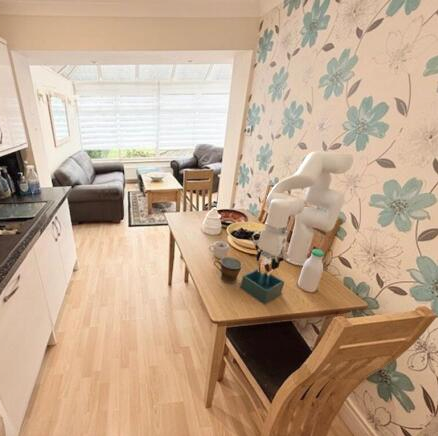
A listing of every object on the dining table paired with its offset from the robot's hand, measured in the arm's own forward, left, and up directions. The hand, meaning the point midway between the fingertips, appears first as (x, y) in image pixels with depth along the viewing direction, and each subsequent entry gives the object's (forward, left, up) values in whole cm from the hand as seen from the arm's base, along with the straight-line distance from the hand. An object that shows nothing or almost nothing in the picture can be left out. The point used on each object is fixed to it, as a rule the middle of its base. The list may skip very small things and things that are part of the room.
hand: (266, 263), depth 106 cm
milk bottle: (-21, +10, -15) cm, 28 cm away
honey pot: (-26, -58, -15) cm, 65 cm away
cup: (-5, -32, -15) cm, 36 cm away
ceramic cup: (+7, -15, -15) cm, 22 cm away
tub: (0, 0, -15) cm, 15 cm away
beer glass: (0, 0, -10) cm, 10 cm away
